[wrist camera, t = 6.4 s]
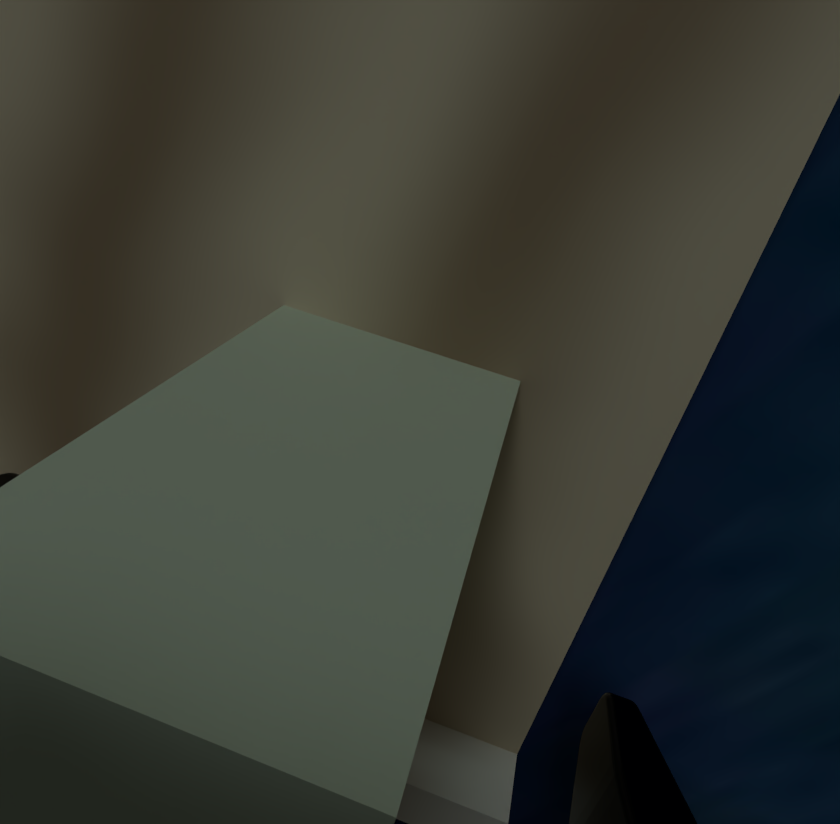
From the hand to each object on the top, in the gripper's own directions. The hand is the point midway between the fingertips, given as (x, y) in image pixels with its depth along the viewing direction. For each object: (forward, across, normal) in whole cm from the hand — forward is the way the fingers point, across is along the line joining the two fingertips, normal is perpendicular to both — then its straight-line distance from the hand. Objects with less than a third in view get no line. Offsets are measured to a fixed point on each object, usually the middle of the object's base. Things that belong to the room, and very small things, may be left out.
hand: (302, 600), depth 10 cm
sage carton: (+3, 0, 0) cm, 3 cm away
